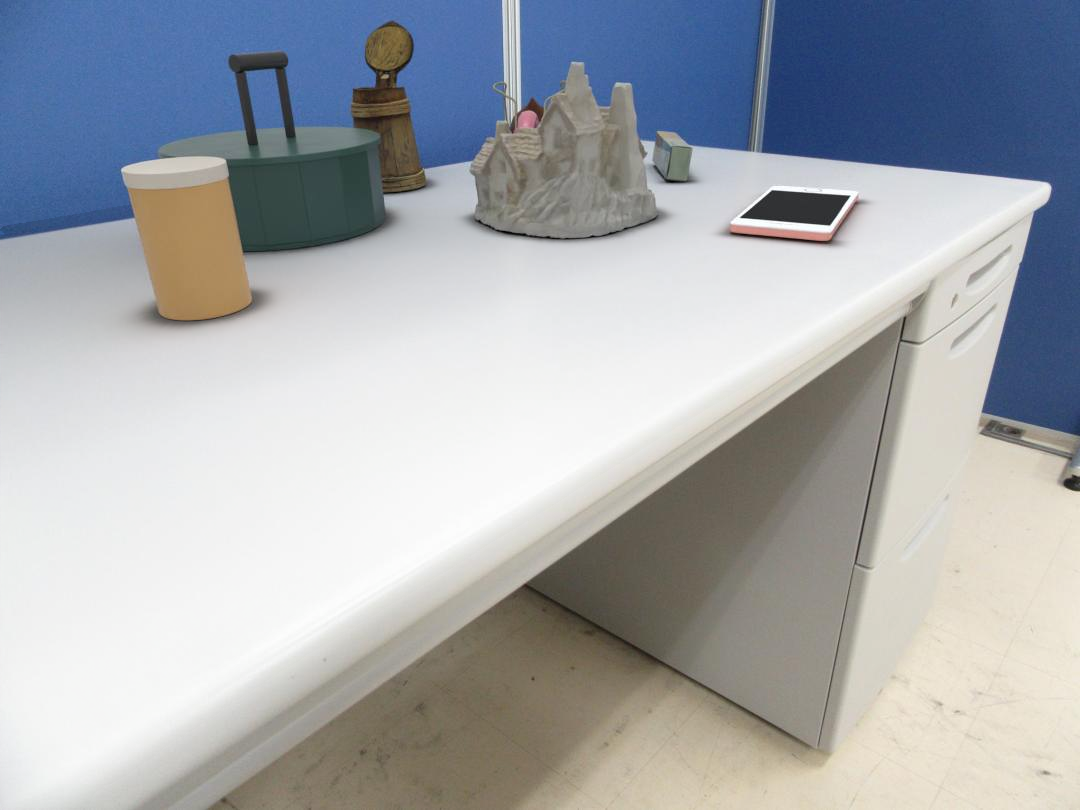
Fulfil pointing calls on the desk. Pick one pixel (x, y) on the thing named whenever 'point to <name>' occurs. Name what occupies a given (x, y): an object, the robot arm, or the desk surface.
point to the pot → (307, 201)
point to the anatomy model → (525, 111)
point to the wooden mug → (390, 108)
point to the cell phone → (796, 213)
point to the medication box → (672, 156)
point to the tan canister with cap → (189, 236)
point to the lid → (271, 141)
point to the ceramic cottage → (567, 168)
